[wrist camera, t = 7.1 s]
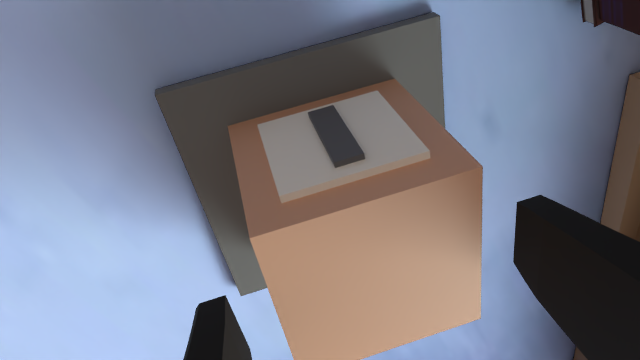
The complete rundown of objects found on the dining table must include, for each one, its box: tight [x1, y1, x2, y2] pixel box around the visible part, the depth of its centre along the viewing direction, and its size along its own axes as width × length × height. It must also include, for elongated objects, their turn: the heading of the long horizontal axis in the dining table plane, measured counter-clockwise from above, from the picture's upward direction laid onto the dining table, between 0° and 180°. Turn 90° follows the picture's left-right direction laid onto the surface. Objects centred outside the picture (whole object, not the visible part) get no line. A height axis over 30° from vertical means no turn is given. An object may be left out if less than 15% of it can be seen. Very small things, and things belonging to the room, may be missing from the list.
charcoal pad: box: [155, 12, 445, 296], centre depth 16 cm, size 8×8×1 cm
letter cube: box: [228, 79, 483, 360], centre depth 13 cm, size 5×5×5 cm
